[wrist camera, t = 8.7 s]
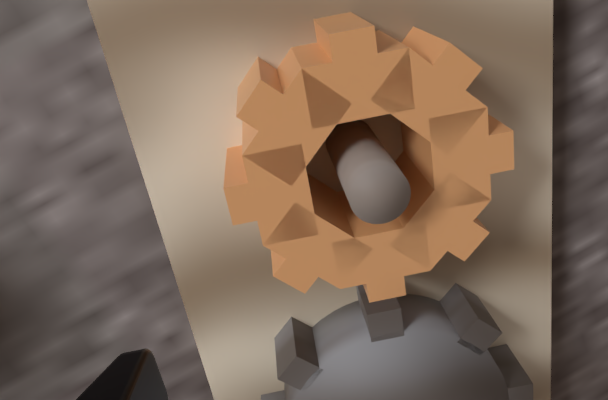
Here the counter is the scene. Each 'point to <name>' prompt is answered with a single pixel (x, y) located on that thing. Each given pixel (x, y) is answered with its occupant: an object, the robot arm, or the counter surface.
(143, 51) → the gear board
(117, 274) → the counter surface
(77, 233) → the counter surface
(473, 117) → the orange gear
